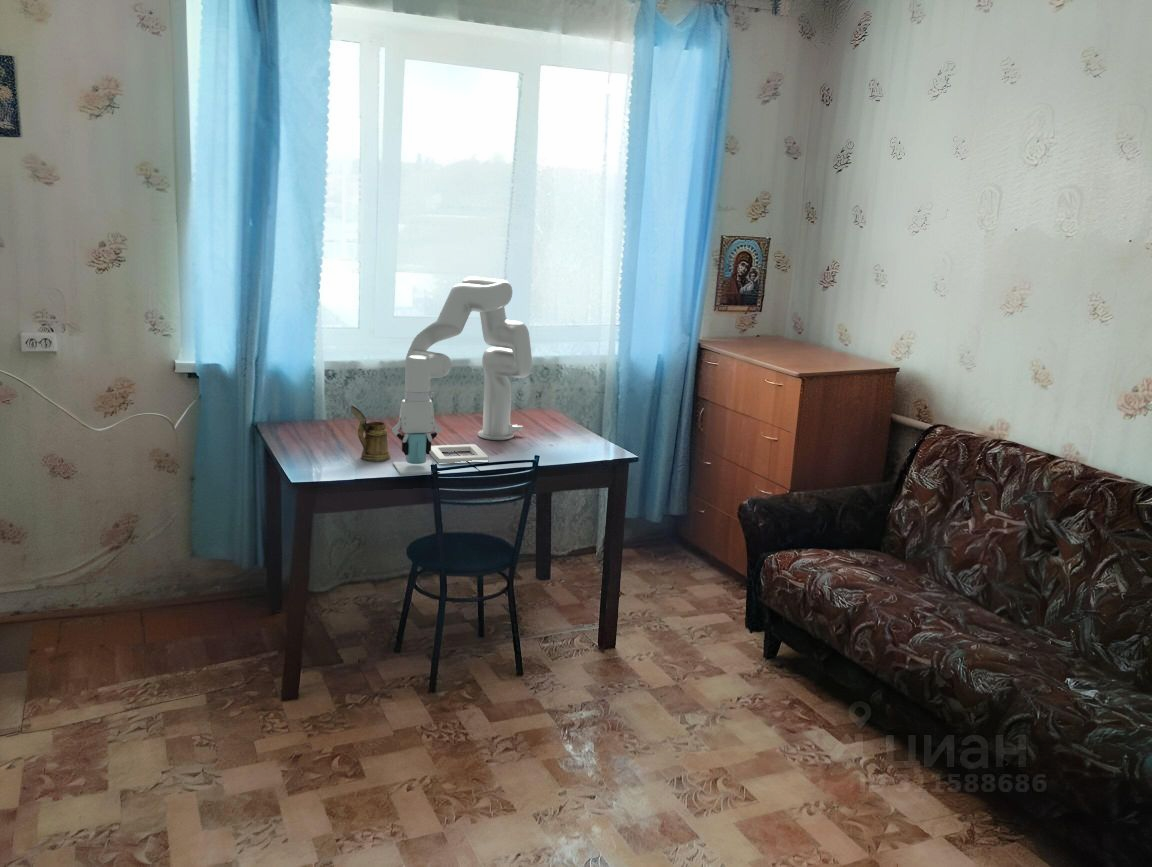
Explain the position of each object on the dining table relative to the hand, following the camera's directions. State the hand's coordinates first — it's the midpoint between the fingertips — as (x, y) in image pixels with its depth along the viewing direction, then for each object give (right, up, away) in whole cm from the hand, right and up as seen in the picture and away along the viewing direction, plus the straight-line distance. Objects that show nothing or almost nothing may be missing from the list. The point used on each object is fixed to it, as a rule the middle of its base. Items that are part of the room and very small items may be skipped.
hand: (416, 453), depth 302 cm
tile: (0, -5, +1) cm, 5 cm away
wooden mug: (-16, -2, +9) cm, 18 cm away
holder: (+11, -1, +17) cm, 20 cm away
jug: (0, -3, +1) cm, 3 cm away
